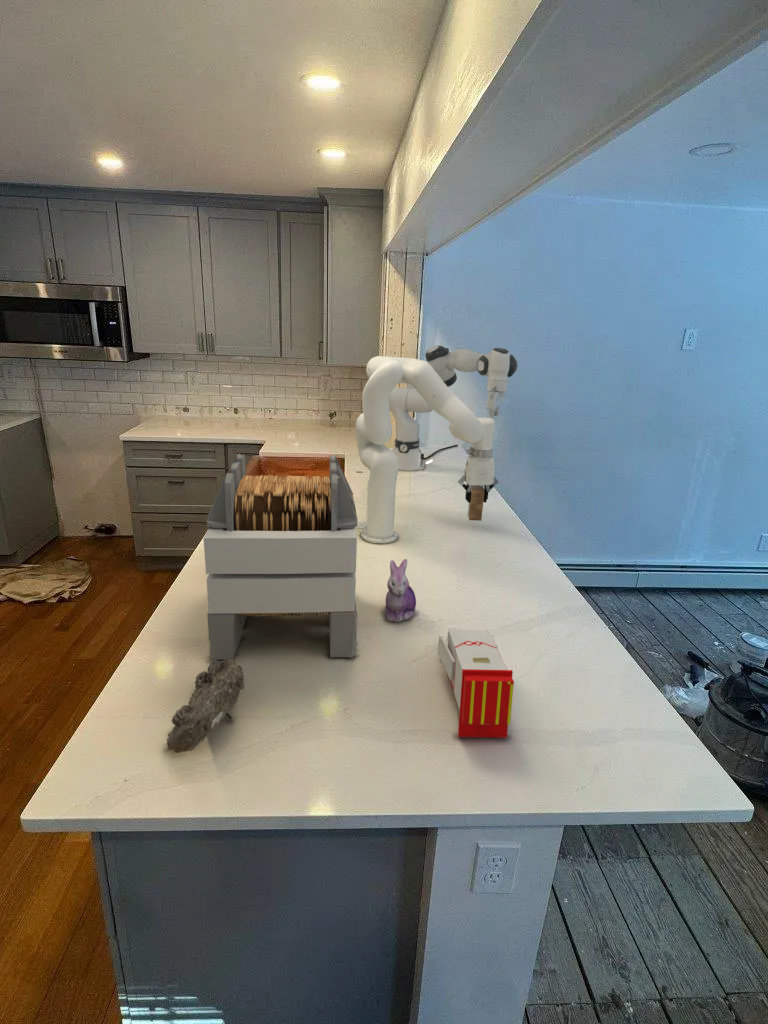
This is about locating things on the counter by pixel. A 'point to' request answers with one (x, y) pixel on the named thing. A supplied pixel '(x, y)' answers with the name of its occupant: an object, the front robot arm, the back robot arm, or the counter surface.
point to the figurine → (399, 594)
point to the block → (476, 503)
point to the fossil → (206, 705)
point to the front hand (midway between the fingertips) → (476, 501)
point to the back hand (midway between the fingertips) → (493, 417)
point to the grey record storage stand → (281, 554)
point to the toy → (478, 682)
